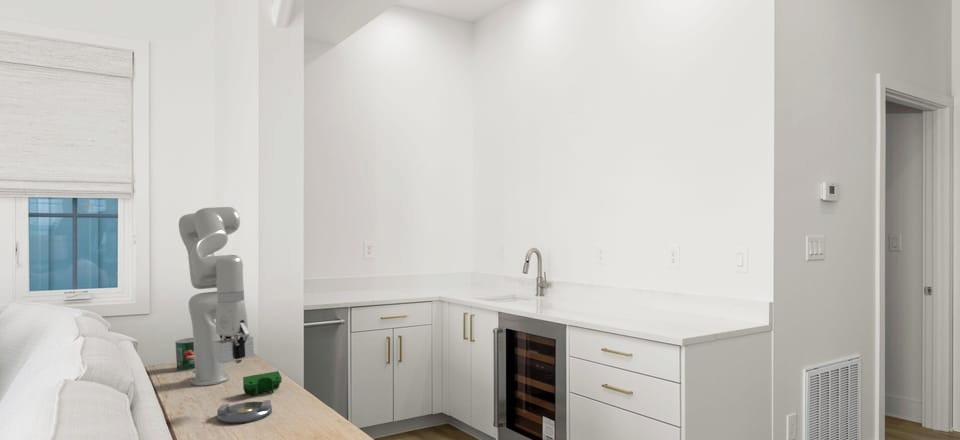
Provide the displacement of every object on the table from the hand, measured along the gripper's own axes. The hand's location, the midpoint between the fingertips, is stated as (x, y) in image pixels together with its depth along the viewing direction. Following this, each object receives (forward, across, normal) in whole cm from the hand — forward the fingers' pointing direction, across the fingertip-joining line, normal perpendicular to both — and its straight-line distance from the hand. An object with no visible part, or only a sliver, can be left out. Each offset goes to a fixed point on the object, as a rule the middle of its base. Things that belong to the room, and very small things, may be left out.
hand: (234, 356), depth 186 cm
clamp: (+16, -7, +14) cm, 23 cm away
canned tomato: (+15, -62, +20) cm, 67 cm away
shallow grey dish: (+16, +7, -2) cm, 18 cm away
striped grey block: (+1, 0, 0) cm, 1 cm away
